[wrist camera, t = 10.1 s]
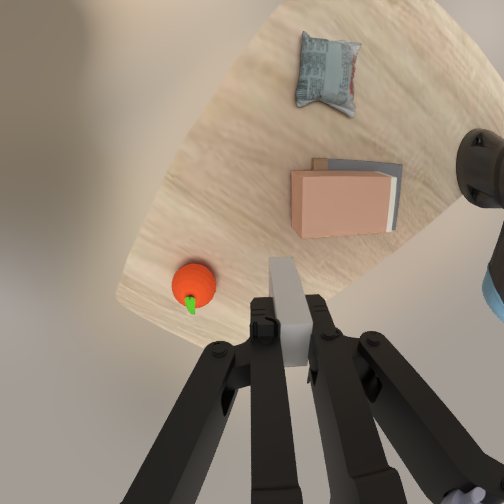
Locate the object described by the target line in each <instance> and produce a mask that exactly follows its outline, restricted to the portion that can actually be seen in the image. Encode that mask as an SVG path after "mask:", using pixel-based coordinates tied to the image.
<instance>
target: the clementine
mask: <svg viewBox="0 0 504 504" xmlns="http://www.w3.org/2000/svg"><path fill="white" fill-rule="evenodd" d="M172 291H173V294H174V296H175V298H176V300H177V301H178V302H179V303H181V304H182V305H184V306H186V307H187V309H188V311H189V312H190V313H191V314H195V308H200V307H203V306H205V305H206V304H208V303H209V302H210V301H211V300H212V298H213V296H214V294H215V292H216V282H215V278H214V276H213V274H212V273H211V272H210V270H209V269H208V268H206V267H205V266H203V265H200V264H188V265H185V266H183V267H181V268H180V269H179V270H178V271H177V272H176V274H175V275H174V277H173V280H172Z"/></svg>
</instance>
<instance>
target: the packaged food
mask: <svg viewBox="0 0 504 504" xmlns="http://www.w3.org/2000/svg"><path fill="white" fill-rule="evenodd" d="M361 45H362V44H361V43H352V42H350V43H348V42H346V41H345V40H341V41H329V40H326V39H318V38H310V36H309V35H308V34H307V33H306V32H305V31H303V34H302V50H301V64H300V68H301V70H300V76H299V84H298V87H297V90H296V94H295V97H296V102H297V106H298V107H303V106H305V105H307V104H309V103H311V102H314V101H321V102H324V103H326V104H328V105H330V106H332V107H334V108H336V109H338V110H339V111H341V112H343V113H345V114H346V115H347V116H349V117H351V118H353V117H354V115H355V105H354V103H353V97H354V85H353V78H354V72H355V62H356V58H357V54H358V50H359V48H360V46H361Z"/></svg>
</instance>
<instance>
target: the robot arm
mask: <svg viewBox="0 0 504 504" xmlns="http://www.w3.org/2000/svg"><path fill="white" fill-rule="evenodd" d="M457 178H458V183H459V187H460V189H461V192H462V194H463V195H464V197H465V198H466V199H467V200H468V201H469V202H470V203H472V204H474V205H476V206H478V207H481V208H503V209H504V139H503V138H501V137H500V136H498V135H497V134H495V133H494V132H492V131H489V130H485V129H474V130H472V131H470V132H469V133H468V134H467V135H466V136H465V137H464V139H463V141H462V143H461V145H460V148H459V151H458V156H457ZM482 291H483V296H484V298H485V300H486V302H487V304H488V306H489V307H490V308H491V310H492V311H493V312H494V313H495V314H496V315H497V317H498V318H500V319H501V320H502V321H503V322H504V222H503V225H502V229H501V232H500V235H499V238H498V241H497V244H496V247H495V249H494V252H493V255H492V258H491V260H490V262H489V263H488V266H487V272H486V275H485V277H484V280H483V283H482ZM250 310H251V322H250V337H249V339H248V340H247V341H246V342H244V343H242V344H239V345H236V346H233V345H231V344H230V343H228V342H225V341H216V342H212V343H210V344H209V345H207V346H206V348H205V349H204V351H203V353H202V354H201V356H200V358H199V360H198V362H197V364H196V366H195V368H194V370H193V371H192V373H191V375H190V377H189V379H188V381H187V382H186V384H185V386H184V388H183V390H182V392H181V394H180V395H179V397H178V399H177V401H176V403H175V405H174V407H173V409H172V411H171V412H170V414H169V416H168V418H167V420H166V422H165V423H164V425H163V428H162V429H161V431H160V433H159V435H158V437H157V438H156V440H155V442H154V444H153V446H152V448H151V449H150V451H149V453H148V455H147V457H146V459H145V461H144V462H143V464H142V466H141V468H140V470H139V472H138V473H137V475H136V477H135V479H134V481H133V483H132V484H131V486H130V488H129V490H128V492H127V494H126V496H125V497H124V499H123V501H122V502H121V503H120V504H195V502H196V500H197V497H198V495H199V492H200V490H201V487H202V485H203V482H204V480H205V477H206V475H207V472H208V470H209V467H210V464H211V462H212V460H213V457H214V454H215V452H216V449H217V447H218V444H219V441H220V439H221V436H222V433H223V431H224V428H225V425H226V423H227V420H228V417H229V415H230V412H231V409H232V406H233V404H234V401H235V398H236V395H237V392H238V389H239V388H243V387H246V386H250V385H251V477H252V478H251V483H252V484H251V485H252V486H251V504H303V499H302V492H301V488H300V486H299V484H298V478H297V469H296V461H295V452H294V443H293V434H292V426H291V417H290V409H289V402H288V393H287V385H286V377H285V369H284V367H295V366H307V363H308V360H309V364H310V368H309V373H308V379H307V383H309V382H311V387H312V392H313V398H314V403H315V408H316V413H317V418H318V424H319V429H320V435H321V440H322V446H323V451H324V457H325V463H326V469H327V475H328V481H329V487H330V494H331V498H330V504H407V500H406V497H405V493H404V489H403V486H402V482H401V479H400V476H399V473H398V471H397V470H396V469H395V468H392V467H390V466H389V465H388V463H387V460H386V457H385V453H384V450H383V447H382V443H381V441H380V437H379V434H378V431H377V428H376V425H375V422H374V419H373V417H374V418H375V420H376V421H377V423H378V424H379V426H380V427H381V429H382V430H383V432H384V433H385V435H386V436H387V438H388V439H389V441H390V442H391V444H392V446H393V447H394V449H395V450H396V452H397V453H398V455H399V456H400V458H401V459H402V461H403V462H404V464H405V465H406V467H407V468H408V470H409V471H410V473H411V474H412V476H413V478H414V479H415V481H416V482H417V484H418V485H419V487H420V488H421V490H422V491H423V492H424V494H425V495H426V497H427V498H428V499H430V501H431V502H432V503H433V504H501V503H503V502H504V464H502V463H500V462H498V461H497V460H495V459H493V458H492V457H490V456H488V455H486V454H485V453H484V452H483V451H482V450H481V448H480V447H479V446H478V445H477V443H476V442H475V441H474V440H473V438H472V437H471V436H470V434H469V433H468V432H467V431H466V429H465V428H464V427H463V426H462V425H461V423H460V422H459V421H458V420H457V418H456V417H455V416H454V415H453V414H452V412H451V411H450V410H449V409H448V408H447V407H446V405H445V404H444V403H443V402H442V401H441V400H440V398H439V397H438V396H437V395H436V393H435V392H434V391H433V390H432V389H431V388H430V387H429V385H428V384H427V383H426V382H425V381H424V380H423V379H422V377H421V376H420V375H419V374H418V373H417V372H416V370H415V369H414V368H413V367H412V366H411V365H410V364H409V363H408V361H407V360H406V359H405V358H404V357H403V356H402V355H401V354H400V353H399V351H398V350H397V349H396V348H395V347H394V346H393V345H392V344H391V343H390V342H389V340H388V339H387V338H386V337H385V336H384V335H382V334H381V333H378V332H376V331H367V332H365V333H363V334H362V335H361V336H360V338H352V337H347V336H344V335H343V333H342V332H341V331H340V330H339V329H338V328H336V327H335V325H334V323H333V320H332V318H331V315H330V313H329V311H328V307H327V305H326V302H325V300H324V299H323V298H322V297H321V296H320V295H319V294H314V295H305V294H304V291H303V288H302V284H301V281H300V278H299V275H298V272H297V268H296V265H295V262H294V259H293V257H269V297H259V298H254V299H253V300H252V302H251V303H250ZM372 415H373V416H372Z"/></svg>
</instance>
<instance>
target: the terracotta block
mask: <svg viewBox="0 0 504 504" xmlns="http://www.w3.org/2000/svg"><path fill="white" fill-rule="evenodd" d="M291 175H292V228H293V229H294V230H295V231H296V233H297V234H298V235H299V236H300V238H301V239H309V238H321V237H333V236H345V235H357V234H369V233H382V232H391V231H392V223H393V215H394V206H395V196H396V184H397V177H394V176H391V175H388V174H385V173H382V172H379V171H291Z"/></svg>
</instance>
